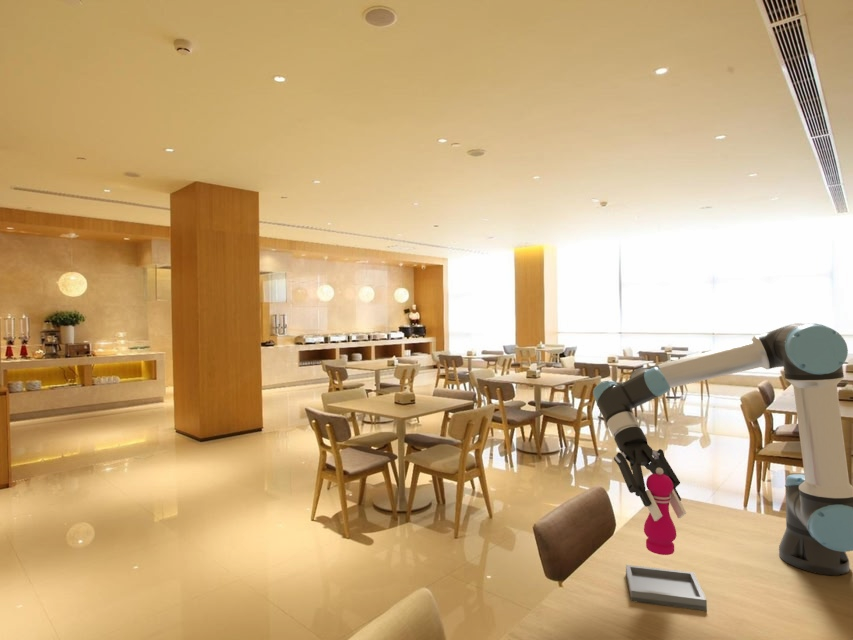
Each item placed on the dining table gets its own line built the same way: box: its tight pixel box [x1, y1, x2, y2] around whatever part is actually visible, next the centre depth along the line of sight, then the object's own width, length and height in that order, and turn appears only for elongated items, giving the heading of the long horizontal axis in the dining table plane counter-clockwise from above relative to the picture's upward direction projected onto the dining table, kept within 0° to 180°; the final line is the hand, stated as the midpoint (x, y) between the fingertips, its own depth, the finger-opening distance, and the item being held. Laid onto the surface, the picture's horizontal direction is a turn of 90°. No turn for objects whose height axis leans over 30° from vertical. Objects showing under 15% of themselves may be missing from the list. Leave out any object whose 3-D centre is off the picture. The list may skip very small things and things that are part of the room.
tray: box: [625, 564, 708, 612], centre depth 124 cm, size 16×13×2 cm
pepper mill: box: [643, 468, 677, 556], centre depth 124 cm, size 7×7×20 cm
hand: (670, 516), depth 120 cm, fingers closed on pepper mill, 6 cm apart
